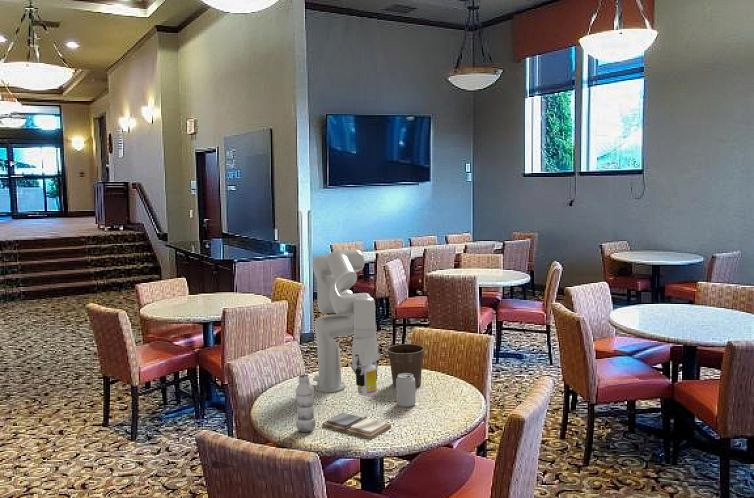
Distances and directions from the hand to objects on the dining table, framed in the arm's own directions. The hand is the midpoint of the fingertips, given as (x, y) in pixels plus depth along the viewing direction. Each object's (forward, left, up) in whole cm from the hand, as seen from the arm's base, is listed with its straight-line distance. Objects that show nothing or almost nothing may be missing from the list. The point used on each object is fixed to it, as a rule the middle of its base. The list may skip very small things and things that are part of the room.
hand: (366, 381), depth 217 cm
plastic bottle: (-19, -12, -18) cm, 29 cm away
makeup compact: (-6, 0, -18) cm, 18 cm away
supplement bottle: (0, 0, -4) cm, 4 cm away
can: (-3, +28, -18) cm, 33 cm away
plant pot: (-16, +48, -18) cm, 53 cm away
